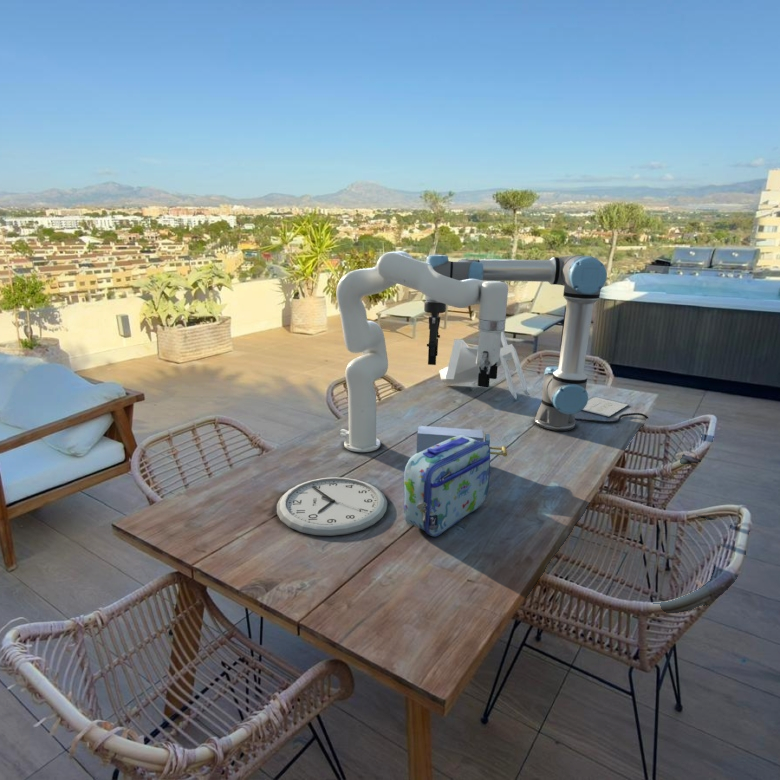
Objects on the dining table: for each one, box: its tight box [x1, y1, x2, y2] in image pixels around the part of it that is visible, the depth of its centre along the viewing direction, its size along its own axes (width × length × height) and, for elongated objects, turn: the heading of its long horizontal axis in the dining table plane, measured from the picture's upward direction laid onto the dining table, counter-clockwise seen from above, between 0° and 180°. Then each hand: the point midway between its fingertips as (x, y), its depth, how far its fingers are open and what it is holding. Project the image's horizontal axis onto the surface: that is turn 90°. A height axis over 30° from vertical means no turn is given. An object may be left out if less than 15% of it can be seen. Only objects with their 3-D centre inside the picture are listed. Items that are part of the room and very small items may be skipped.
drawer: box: [484, 433, 508, 458], centre depth 166 cm, size 25×5×10 cm, turn 82°
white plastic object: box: [438, 331, 531, 400], centre depth 245 cm, size 37×45×31 cm
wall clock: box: [276, 476, 388, 537], centre depth 142 cm, size 30×2×30 cm
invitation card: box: [582, 396, 629, 418], centre depth 226 cm, size 21×1×15 cm
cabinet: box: [416, 425, 485, 454], centre depth 167 cm, size 20×7×11 cm, turn 82°
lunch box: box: [403, 435, 491, 538], centre depth 134 cm, size 26×11×21 cm, turn 134°
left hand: (487, 382), depth 155 cm, fingers open, 9 cm apart
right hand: (432, 360), depth 188 cm, fingers open, 13 cm apart
